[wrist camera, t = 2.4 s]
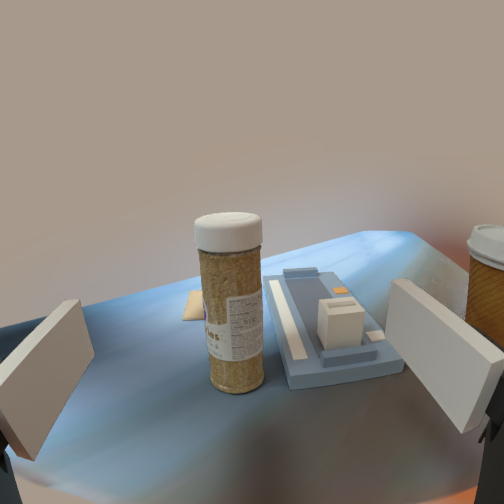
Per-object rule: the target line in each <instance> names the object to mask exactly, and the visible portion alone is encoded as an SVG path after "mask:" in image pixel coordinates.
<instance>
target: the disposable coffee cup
mask: <svg viewBox="0 0 504 504" xmlns="http://www.w3.org/2000/svg"><path fill="white" fill-rule="evenodd" d="M467 245H468V247H469V253H470V270H469V271H470V272H469V285H468V298H467V307H466V316H465V322H466V323H468V324H470V325H473V326H475V327H477V328H479V329H480V330H482V331H483V332H484V333H485V334H487V336H489V337H490V338H492V339H493V340H494V342H497V343H498V344H499V345H500V346H502V347H503V348H504V226H500V225H478V226H475V227H474V228H473V231H472V234H471V238H470V239H468V240H467Z"/></svg>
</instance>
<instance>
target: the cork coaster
mask: <svg viewBox="0 0 504 504" xmlns="http://www.w3.org/2000/svg"><path fill="white" fill-rule="evenodd" d="M183 320H204V310H203V300H202V290H198V291H190V294H189V297H188V301H187V304H186V308H185V311H184V315H183Z"/></svg>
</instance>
